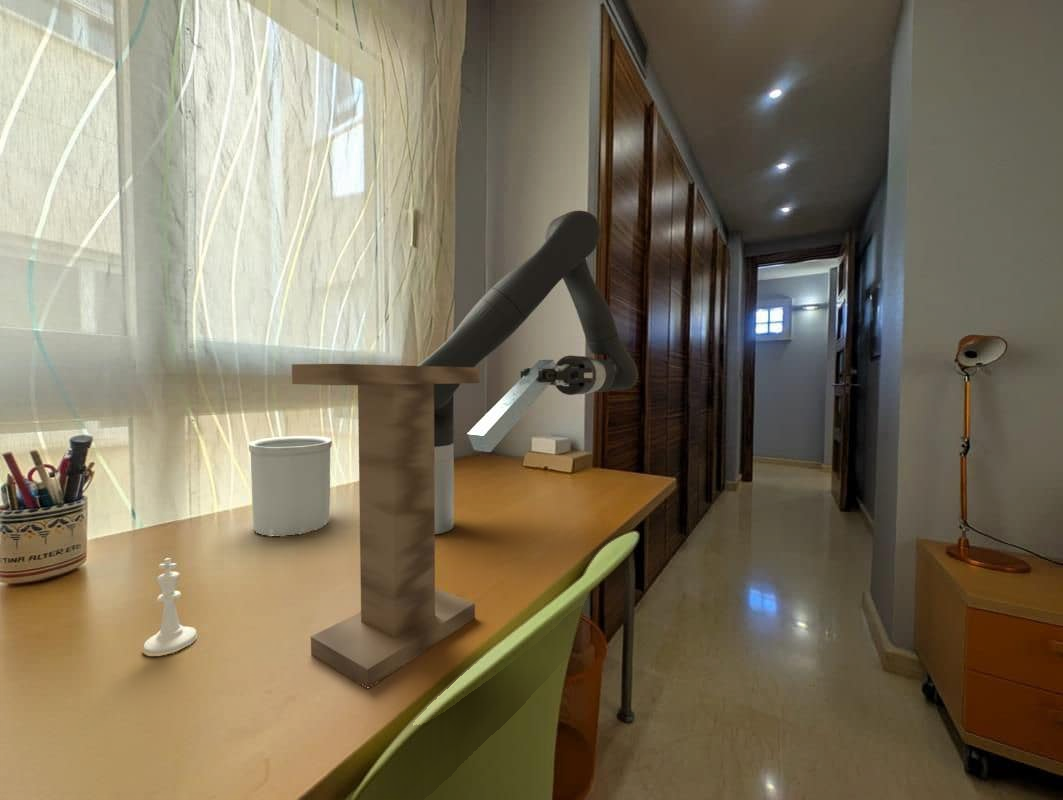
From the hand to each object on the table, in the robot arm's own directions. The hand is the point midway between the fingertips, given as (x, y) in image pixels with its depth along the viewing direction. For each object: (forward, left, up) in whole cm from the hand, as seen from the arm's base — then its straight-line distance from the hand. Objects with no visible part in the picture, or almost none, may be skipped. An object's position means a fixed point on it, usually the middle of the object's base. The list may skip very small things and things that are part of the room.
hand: (531, 375), depth 76 cm
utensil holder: (-49, -14, -31) cm, 60 cm away
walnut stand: (0, -28, -31) cm, 42 cm away
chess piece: (-20, -44, -31) cm, 58 cm away
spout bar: (0, -3, -5) cm, 6 cm away
